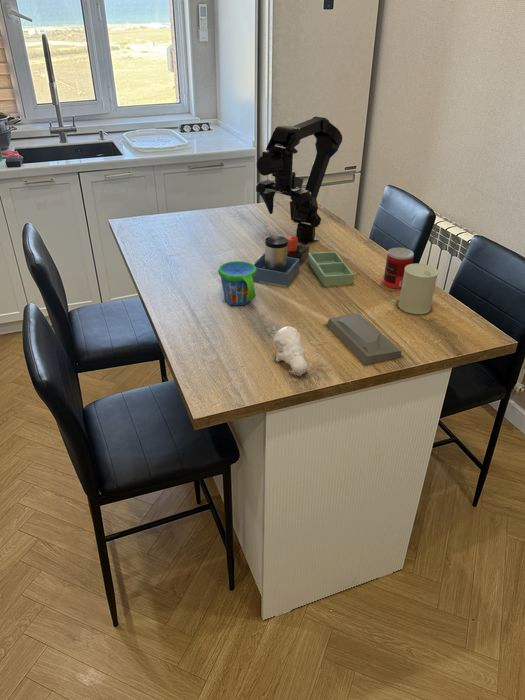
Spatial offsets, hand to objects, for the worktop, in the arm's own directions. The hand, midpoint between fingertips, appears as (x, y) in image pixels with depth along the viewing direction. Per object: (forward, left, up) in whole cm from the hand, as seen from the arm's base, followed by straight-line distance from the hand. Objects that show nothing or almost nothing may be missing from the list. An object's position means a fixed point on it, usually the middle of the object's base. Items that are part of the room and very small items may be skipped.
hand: (281, 216), depth 183 cm
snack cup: (+34, +19, -13) cm, 41 cm away
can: (-3, +54, -13) cm, 55 cm away
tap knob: (+1, +6, -9) cm, 11 cm away
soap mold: (+23, +56, -13) cm, 62 cm away
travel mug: (+15, +14, -12) cm, 23 cm away
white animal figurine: (+45, +53, -13) cm, 71 cm away
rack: (0, +23, -12) cm, 26 cm away
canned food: (-10, +42, -13) cm, 45 cm away
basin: (+15, +14, -12) cm, 24 cm away
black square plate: (+1, +6, -12) cm, 14 cm away
